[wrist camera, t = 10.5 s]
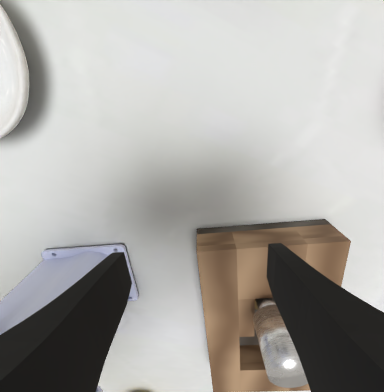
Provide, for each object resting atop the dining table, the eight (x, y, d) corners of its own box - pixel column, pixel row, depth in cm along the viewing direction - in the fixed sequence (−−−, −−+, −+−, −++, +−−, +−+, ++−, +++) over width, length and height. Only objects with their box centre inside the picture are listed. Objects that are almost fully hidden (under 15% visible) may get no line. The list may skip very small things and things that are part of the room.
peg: (238, 301, 24) (257, 392, 16) (239, 268, 22) (260, 353, 14) (280, 300, 24) (320, 392, 16) (284, 267, 22) (331, 352, 14)
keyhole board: (211, 359, 30) (213, 392, 26) (196, 229, 22) (196, 251, 18) (303, 356, 29) (318, 390, 25) (324, 219, 21) (350, 241, 17)
